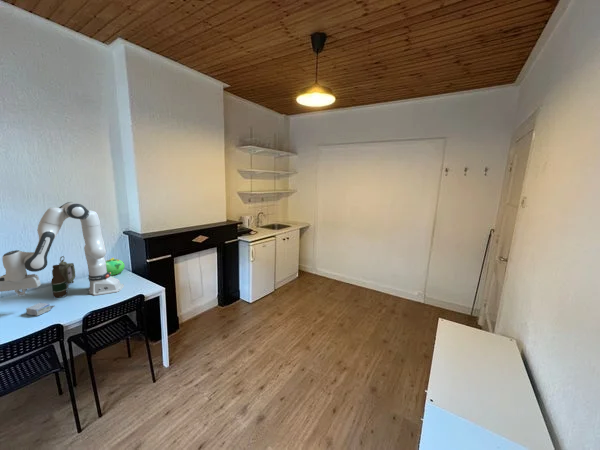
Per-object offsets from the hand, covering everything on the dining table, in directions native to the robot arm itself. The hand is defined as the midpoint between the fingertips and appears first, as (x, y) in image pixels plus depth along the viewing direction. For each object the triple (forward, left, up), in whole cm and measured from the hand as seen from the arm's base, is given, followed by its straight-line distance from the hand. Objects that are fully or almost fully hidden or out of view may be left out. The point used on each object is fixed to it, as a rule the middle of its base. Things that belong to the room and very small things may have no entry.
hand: (22, 295), depth 166 cm
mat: (-10, 0, -12) cm, 15 cm away
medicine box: (-5, +1, -9) cm, 11 cm away
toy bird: (-31, -57, -12) cm, 66 cm away
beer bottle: (-9, -21, -12) cm, 26 cm away
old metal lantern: (-4, -39, -12) cm, 41 cm away
